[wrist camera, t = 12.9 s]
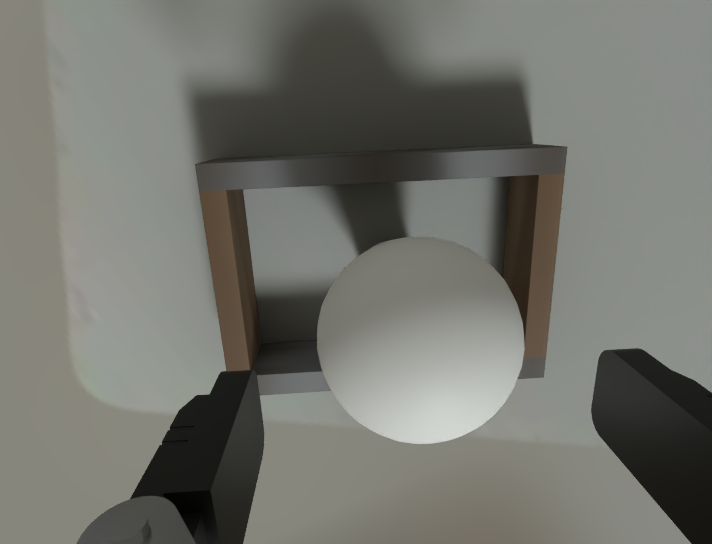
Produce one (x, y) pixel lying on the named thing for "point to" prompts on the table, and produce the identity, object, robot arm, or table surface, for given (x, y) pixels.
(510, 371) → the lightbulb
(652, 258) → the table surface
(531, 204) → the brown wooden shallow box
